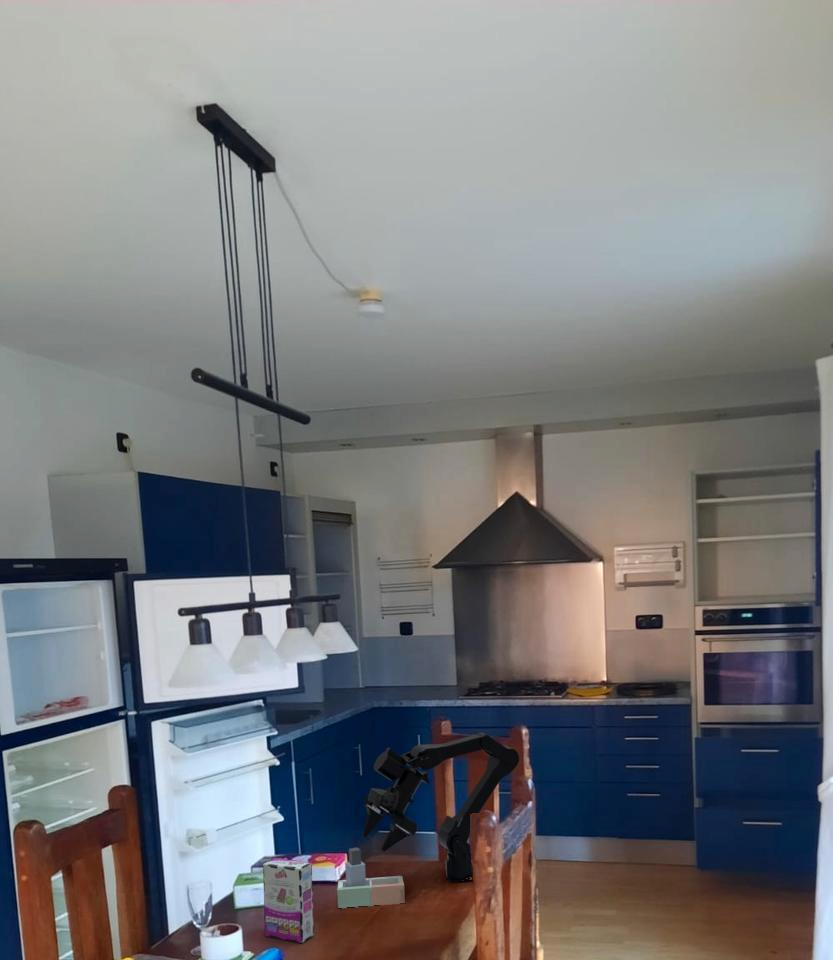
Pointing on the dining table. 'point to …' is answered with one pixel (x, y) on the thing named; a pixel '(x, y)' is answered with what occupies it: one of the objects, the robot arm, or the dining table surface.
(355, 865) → the grey capped bottle
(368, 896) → the socket block
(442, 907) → the dining table surface
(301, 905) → the candy bar box
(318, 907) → the dining table surface
